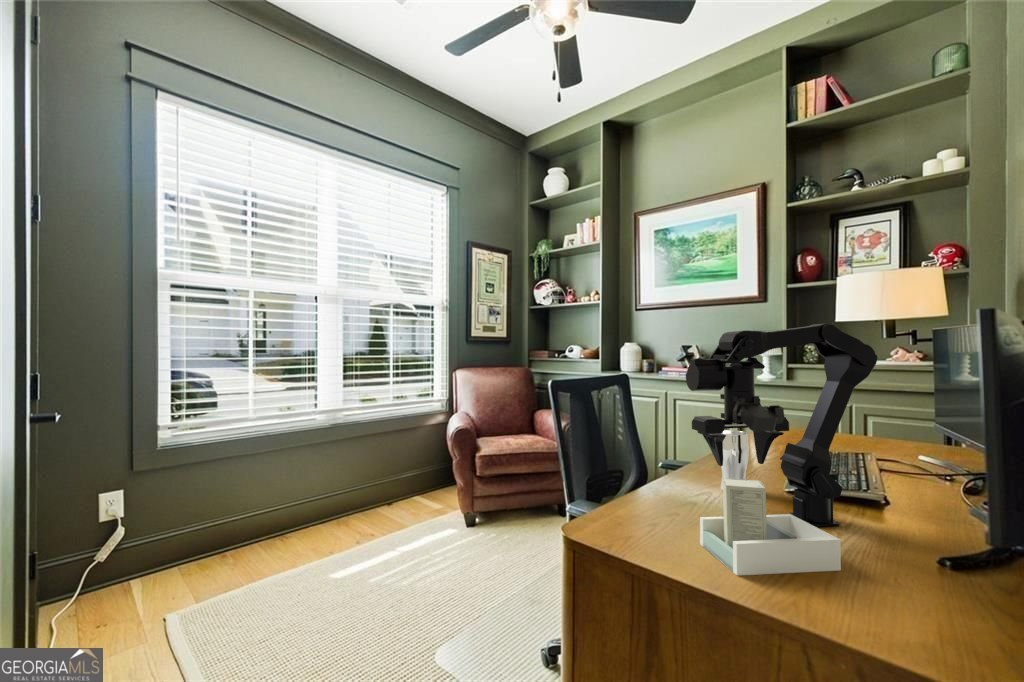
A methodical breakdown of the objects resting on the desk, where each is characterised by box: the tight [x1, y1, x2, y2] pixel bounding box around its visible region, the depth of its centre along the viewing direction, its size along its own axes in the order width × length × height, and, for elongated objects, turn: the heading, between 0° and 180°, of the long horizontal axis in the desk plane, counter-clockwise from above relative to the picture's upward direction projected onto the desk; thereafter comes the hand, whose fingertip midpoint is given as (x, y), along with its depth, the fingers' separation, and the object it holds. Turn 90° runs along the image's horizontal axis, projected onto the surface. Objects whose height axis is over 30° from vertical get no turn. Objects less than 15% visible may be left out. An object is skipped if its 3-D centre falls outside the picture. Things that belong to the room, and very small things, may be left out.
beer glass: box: [720, 429, 750, 491], centre depth 110 cm, size 7×7×15 cm
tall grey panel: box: [767, 521, 797, 540], centre depth 75 cm, size 1×8×4 cm, turn 6°
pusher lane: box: [699, 513, 842, 576], centre depth 75 cm, size 18×11×5 cm, turn 96°
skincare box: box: [721, 478, 767, 549], centre depth 75 cm, size 6×4×12 cm
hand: (740, 464), depth 90 cm, fingers open, 9 cm apart
